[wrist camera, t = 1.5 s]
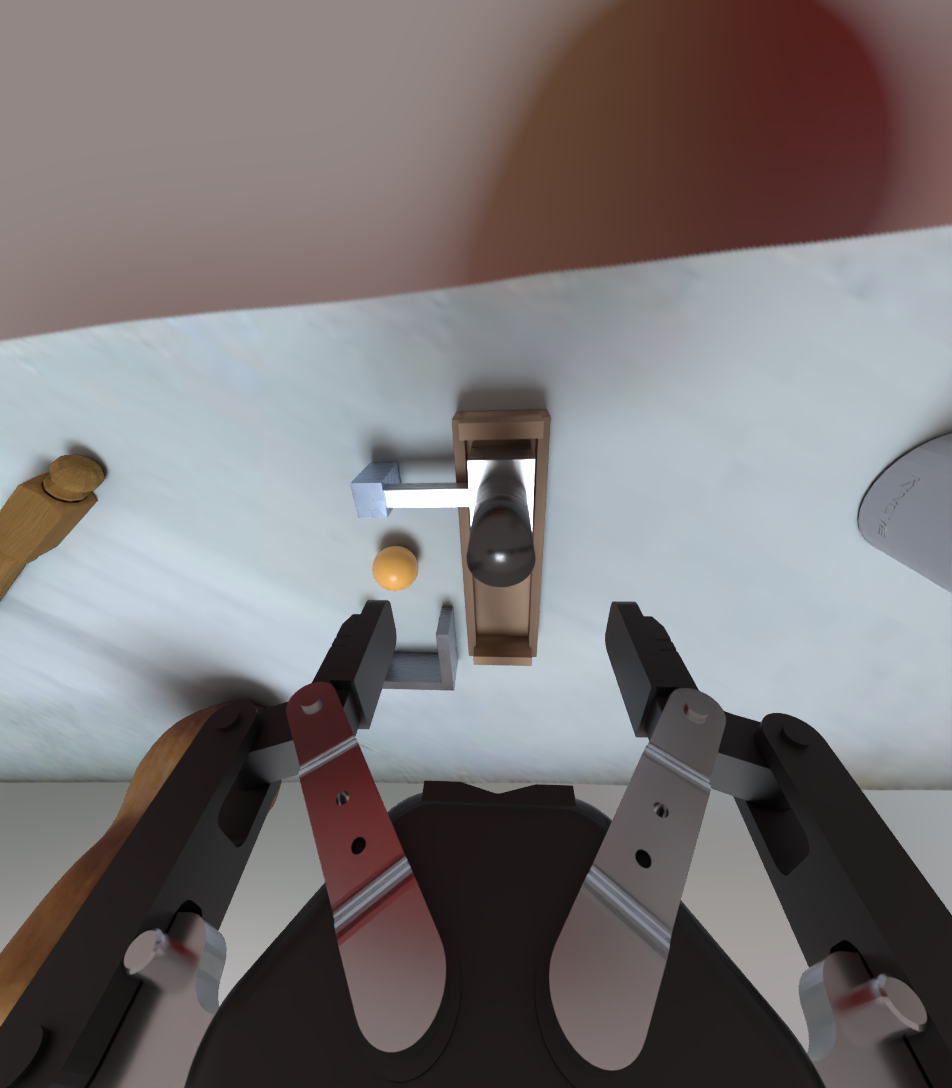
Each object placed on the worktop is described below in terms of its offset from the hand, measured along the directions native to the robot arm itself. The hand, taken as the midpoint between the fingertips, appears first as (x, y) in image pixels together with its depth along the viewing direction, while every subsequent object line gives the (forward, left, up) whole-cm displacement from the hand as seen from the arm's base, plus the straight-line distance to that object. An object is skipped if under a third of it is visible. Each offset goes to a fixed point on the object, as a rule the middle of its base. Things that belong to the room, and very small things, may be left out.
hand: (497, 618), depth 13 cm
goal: (+8, +16, -15) cm, 24 cm away
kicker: (+4, 0, -15) cm, 16 cm away
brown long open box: (0, +6, -15) cm, 16 cm away
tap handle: (+43, +7, -16) cm, 46 cm away
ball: (+8, +7, -15) cm, 19 cm away
